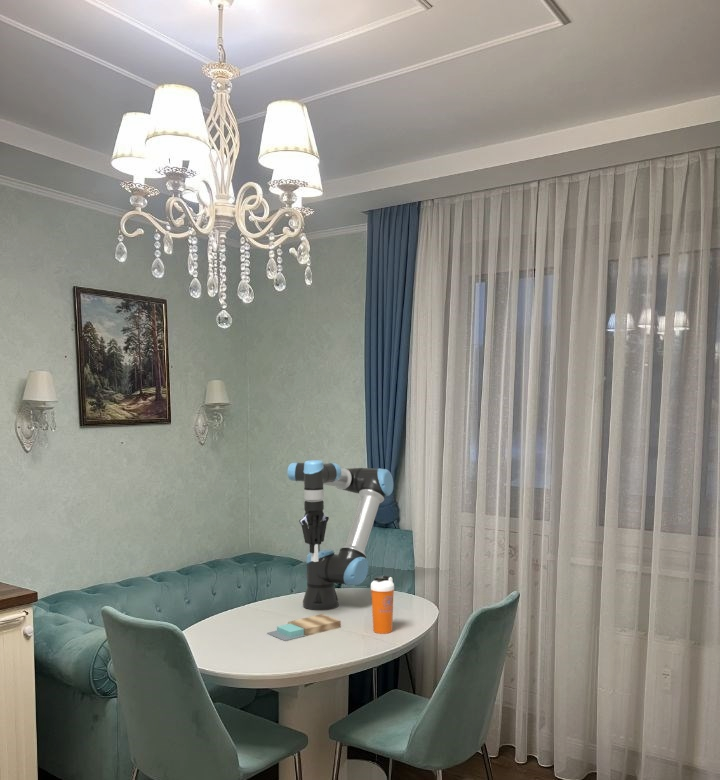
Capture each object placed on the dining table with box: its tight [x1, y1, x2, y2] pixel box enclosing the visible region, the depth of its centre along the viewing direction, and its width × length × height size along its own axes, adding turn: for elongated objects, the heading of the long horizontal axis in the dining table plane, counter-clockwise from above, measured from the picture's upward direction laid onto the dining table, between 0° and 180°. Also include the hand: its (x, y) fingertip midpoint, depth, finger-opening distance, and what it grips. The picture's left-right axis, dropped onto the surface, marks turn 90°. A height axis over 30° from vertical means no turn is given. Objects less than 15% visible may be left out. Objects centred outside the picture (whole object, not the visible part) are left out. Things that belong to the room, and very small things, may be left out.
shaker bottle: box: [370, 574, 395, 635], centre depth 267 cm, size 9×9×20 cm
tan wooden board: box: [287, 614, 342, 637], centre depth 271 cm, size 16×12×2 cm
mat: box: [266, 630, 306, 642], centre depth 262 cm, size 9×12×1 cm
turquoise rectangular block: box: [276, 623, 304, 638], centre depth 263 cm, size 6×9×2 cm, turn 40°
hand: (314, 561), depth 276 cm, fingers closed
